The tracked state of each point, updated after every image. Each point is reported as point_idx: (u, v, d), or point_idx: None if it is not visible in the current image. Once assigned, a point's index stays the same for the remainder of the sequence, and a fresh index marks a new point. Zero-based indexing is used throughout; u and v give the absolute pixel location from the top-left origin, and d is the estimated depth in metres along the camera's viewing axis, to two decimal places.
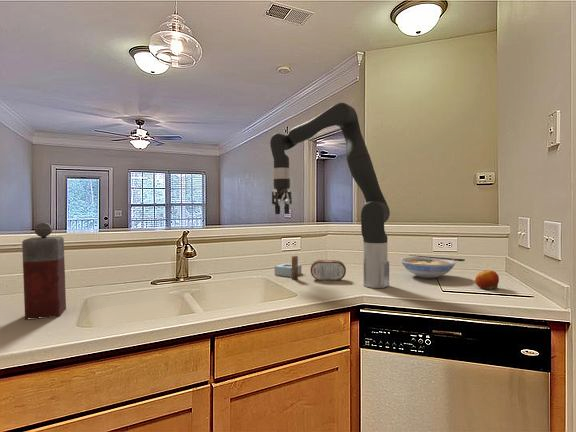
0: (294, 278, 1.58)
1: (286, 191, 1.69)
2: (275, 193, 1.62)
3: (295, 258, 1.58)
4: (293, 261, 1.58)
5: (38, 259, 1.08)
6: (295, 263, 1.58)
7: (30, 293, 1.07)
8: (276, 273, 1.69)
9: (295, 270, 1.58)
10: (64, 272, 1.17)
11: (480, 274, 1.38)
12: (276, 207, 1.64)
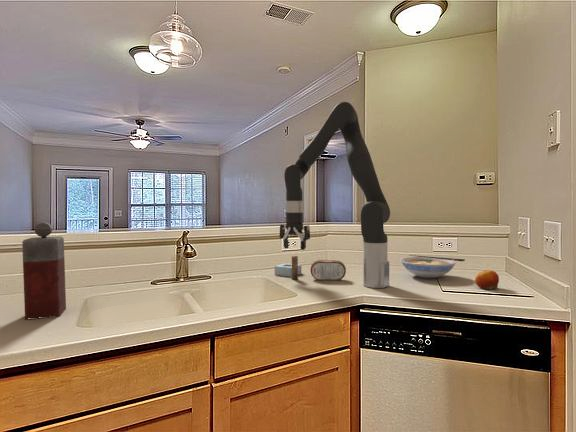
0: (294, 278, 1.58)
1: None
2: (308, 228, 1.55)
3: (295, 258, 1.58)
4: (293, 261, 1.58)
5: (38, 258, 1.08)
6: (295, 263, 1.58)
7: (31, 293, 1.07)
8: (276, 273, 1.69)
9: (295, 270, 1.58)
10: (64, 272, 1.17)
11: (480, 274, 1.38)
12: None
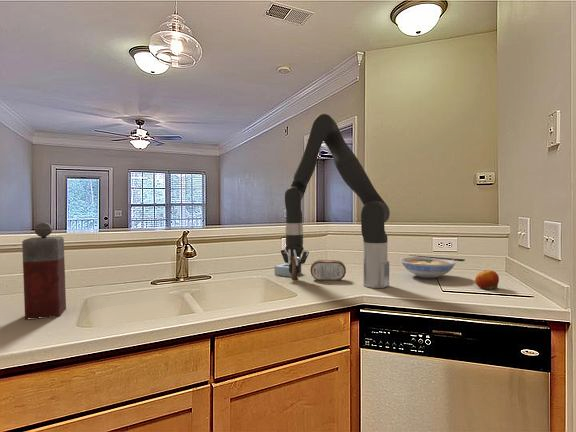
0: (294, 278, 1.58)
1: None
2: (307, 254, 1.56)
3: None
4: (293, 261, 1.58)
5: (38, 259, 1.08)
6: (295, 263, 1.58)
7: (30, 293, 1.07)
8: (276, 273, 1.69)
9: (295, 270, 1.58)
10: (64, 272, 1.17)
11: (480, 274, 1.38)
12: None
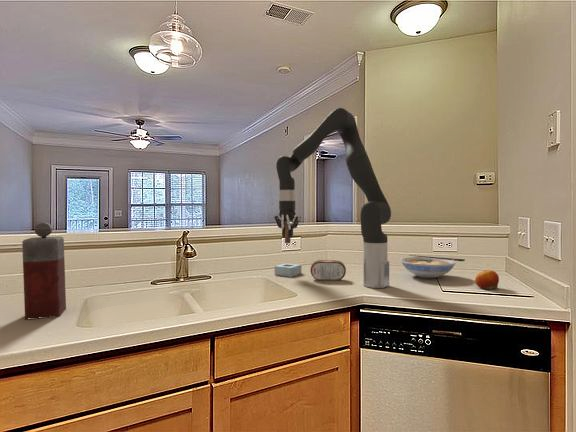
0: (287, 241, 1.69)
1: None
2: (299, 219, 1.67)
3: None
4: (286, 226, 1.69)
5: (38, 259, 1.08)
6: None
7: (31, 293, 1.07)
8: (276, 273, 1.69)
9: None
10: (64, 272, 1.17)
11: (480, 274, 1.38)
12: None
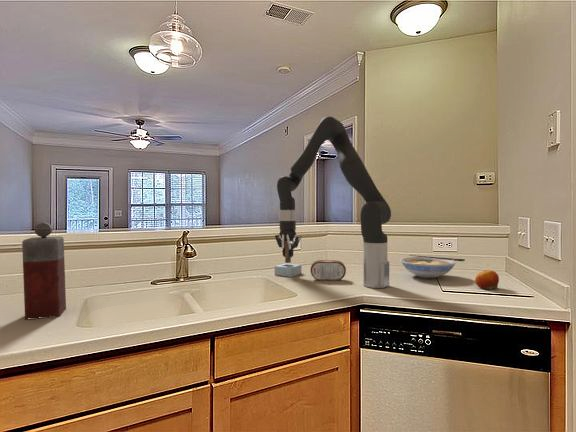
0: (287, 261, 1.70)
1: None
2: (299, 239, 1.68)
3: None
4: (286, 245, 1.70)
5: (38, 259, 1.08)
6: (288, 247, 1.69)
7: (30, 293, 1.07)
8: (276, 273, 1.69)
9: (288, 254, 1.70)
10: (64, 272, 1.17)
11: (480, 274, 1.38)
12: None
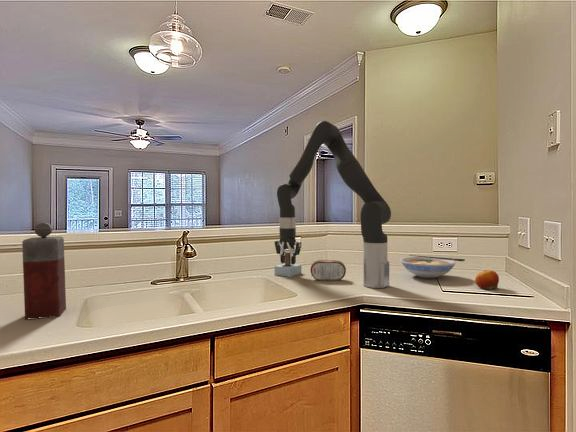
0: None
1: None
2: (300, 245, 1.67)
3: (288, 254, 1.70)
4: (286, 257, 1.70)
5: (38, 259, 1.08)
6: (288, 259, 1.70)
7: (30, 293, 1.07)
8: (276, 273, 1.69)
9: (288, 265, 1.70)
10: (64, 272, 1.17)
11: (480, 274, 1.38)
12: None
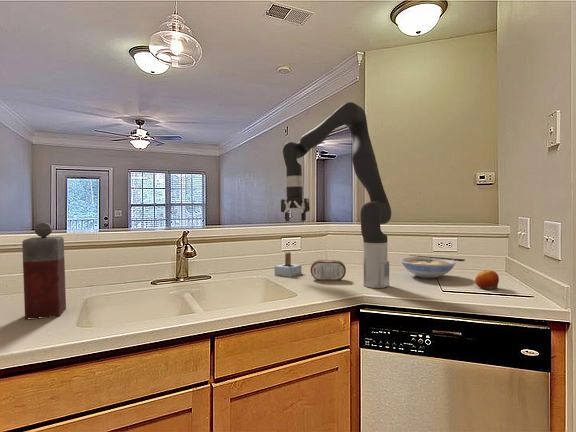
0: None
1: None
2: (308, 200, 1.67)
3: (288, 254, 1.69)
4: (286, 257, 1.70)
5: (38, 259, 1.08)
6: (288, 259, 1.70)
7: (31, 293, 1.07)
8: (276, 273, 1.69)
9: (288, 265, 1.70)
10: (64, 272, 1.17)
11: (480, 274, 1.38)
12: None
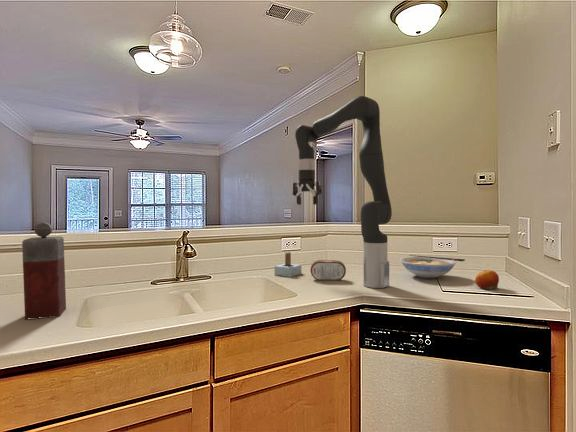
0: None
1: None
2: (320, 184, 1.67)
3: (288, 254, 1.69)
4: (286, 257, 1.70)
5: (38, 259, 1.08)
6: (288, 259, 1.70)
7: (30, 293, 1.07)
8: (276, 273, 1.69)
9: (288, 265, 1.70)
10: (64, 272, 1.17)
11: (480, 274, 1.38)
12: None
